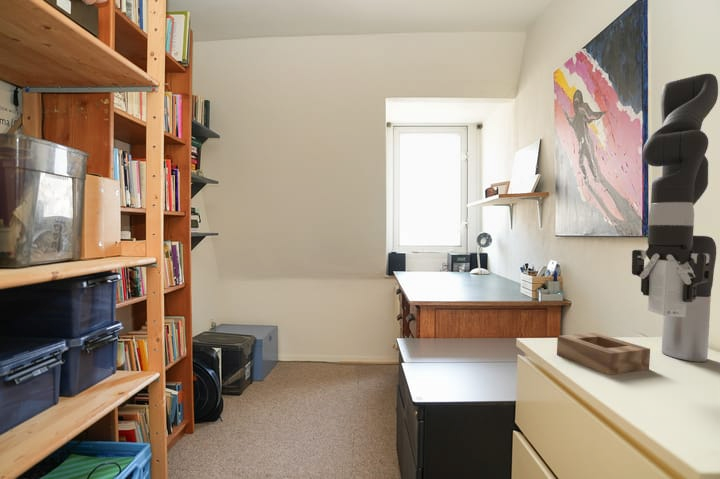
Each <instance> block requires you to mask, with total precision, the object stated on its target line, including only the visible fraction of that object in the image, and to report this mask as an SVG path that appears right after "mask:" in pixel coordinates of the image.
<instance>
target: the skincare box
mask: <svg viewBox="0 0 720 479" xmlns="http://www.w3.org/2000/svg"><path fill="white" fill-rule="evenodd" d="M678 262H679V261H678ZM679 263H680V262H679ZM680 265H681V264H680ZM681 266H682V268H683V269H688V262H686V263H685V264H683V265H681ZM683 284H685V282H684V281H683V279H682V278H681V276H680V275H678V274H677V272H676V261H668V260H658V261H657V263H656V265H655V266H654V267H653V270H652V272H651V273H650V278H649V296H647V298H648V299H647V311H650V312H652V313H655V314H658V315H660V316H663V317H664V316H674V317H686V302H683Z"/></svg>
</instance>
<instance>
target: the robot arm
mask: <svg viewBox="0 0 720 479" xmlns="http://www.w3.org/2000/svg"><path fill="white" fill-rule="evenodd" d="M718 96H719V82H718V79H717V77H716V75H715V74H713V73H702V74H698V75H693V76H690V77H689V76H688V77H686V78H685V77H684V78H681V79H676V80H673V81H669V82H667V83H665V84H664V85H663V87H662V89H661V93H660V114H661V127H660V128H658V129H657V130H655V132H653V133H652V134H651V135H650V136H649V137H648V139H647V140H646V141H645V144H644V145H643V148H642V158H643V160H644V162H645V163H646V164H647V165H649V166H651V167H662V169H661V170H662V173H661V174H662V176H660V177H657V178H655V179H654V180H653V181H652V184H651V190H650V191H651V194H650V196H651V197H650V208H649V210H648V219H647V220H648V221H647V222H648V224H647V227H648V228H647V245H648V246H647V249H646V250H643V249H633V250H632V251H631V274H632V275H633V276H637V277H639V278H640V280H641V281H640V291H641V293H642V295H643V296H647V297H649V278H650V273H651V272H652V270H653V267H654V266H655V265H656V263H657V261H658V260H668V261H676V272H677V274H678V275H680V276H681V278H682V279H683V281H684V282H685V284H683V302H686V317H674V316H663V321H662V338H661V339H662V340H661V353H662V354H664V355H666V356H669V357H672V358H676V359H680V360H684V361H691V362H699V363H700V362H701V363H704V362H707V361H708V354H709V338H710V337H709V336H710V318H711V317H710V316H711V314H710V313H711V302H712V301H711V300H712V288H713V283H714V273H715V266H716V259H717V244H716V242H715V239H713V238H712V237H711V236H708V235H707V236H706V235H694V230H695V229H694V228H695V225H694V224H695V209H694V206H695V204H696V203H697V202H698V200H700V199H701V197H702V196H703V194H704V193H705V192H706V190H707V188H708V185H709V160H708V158H707V157H706V153H707V150H708V147H709V138H708V136H707V134H706V133H705V132H704V131H702V125H703V122H704V120H705V118H707V116H708V115H709V114H710V112H711V111H712V110H713V109H714V107H715V105H716V104H717V100H718ZM646 258H648V260H649V261H648V262H647V263H646V264H645V259H646ZM678 261H679V262H680V263H679V262H678ZM686 262H688V269H683V268H682V266H681V265H683V264H685V263H686ZM680 264H681V265H680Z"/></svg>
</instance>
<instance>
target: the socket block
mask: <svg viewBox="0 0 720 479" xmlns="http://www.w3.org/2000/svg"><path fill="white" fill-rule="evenodd" d="M556 342H557V343H556V344H557V345H556V355H557V356H560V357H562V358H566V359H568V360H570V361H573V362H575V363H578V364H580V365H583V366H585V367H588V368H590V369H593V370H595V371H598V372H601V373H603V374H606V375H608V376H612V375H617V374H624V373H632V372H639V371H645V370H650V361H651V360H650V359H651V348H650V347H649V348H648V347H645V346H642V345H639V344H635V343H632V342H628V341H625V340H621V339H619V338H615V337H612V336H608V335H605V334H602V333H597V332H586V333H576V334H564V335H563V334H562V335H557V340H556Z"/></svg>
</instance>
